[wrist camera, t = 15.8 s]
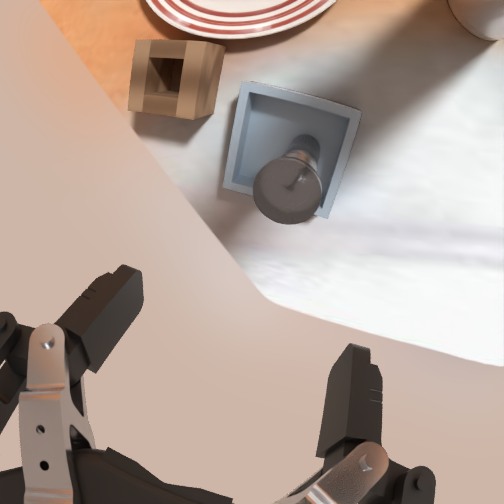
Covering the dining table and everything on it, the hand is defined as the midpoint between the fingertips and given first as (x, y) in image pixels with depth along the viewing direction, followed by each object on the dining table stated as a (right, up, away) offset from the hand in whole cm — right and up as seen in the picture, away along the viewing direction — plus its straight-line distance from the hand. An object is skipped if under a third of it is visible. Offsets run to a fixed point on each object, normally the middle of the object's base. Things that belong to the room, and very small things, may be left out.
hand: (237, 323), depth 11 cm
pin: (+7, +15, +23) cm, 28 cm away
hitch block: (-8, +25, +22) cm, 34 cm away
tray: (+5, +16, +24) cm, 29 cm away
